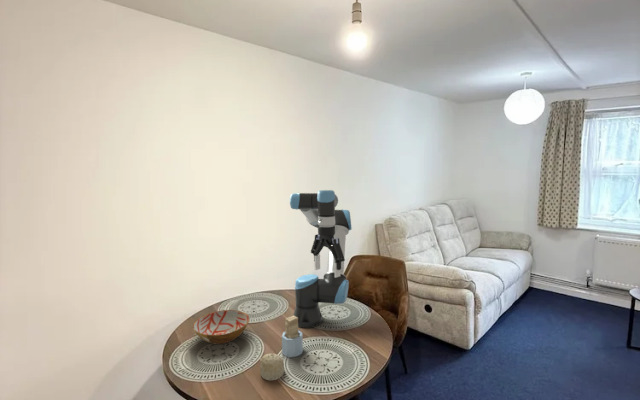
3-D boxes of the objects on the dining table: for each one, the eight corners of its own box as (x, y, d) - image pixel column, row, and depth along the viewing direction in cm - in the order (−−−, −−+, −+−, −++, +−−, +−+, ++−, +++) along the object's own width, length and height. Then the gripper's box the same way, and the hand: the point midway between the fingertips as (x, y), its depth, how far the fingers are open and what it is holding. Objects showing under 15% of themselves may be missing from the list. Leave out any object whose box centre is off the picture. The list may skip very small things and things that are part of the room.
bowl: (260, 330, 159) (260, 315, 158) (225, 358, 136) (224, 340, 135) (220, 321, 169) (219, 306, 168) (181, 345, 147) (180, 328, 146)
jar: (278, 350, 141) (277, 334, 140) (295, 343, 147) (294, 327, 146) (290, 359, 134) (289, 342, 134) (307, 351, 140) (306, 335, 139)
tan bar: (286, 350, 140) (285, 318, 139) (294, 346, 143) (293, 315, 142) (290, 352, 138) (289, 321, 136) (298, 349, 141) (298, 317, 139)
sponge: (269, 375, 131) (254, 356, 130) (289, 361, 131) (274, 342, 130) (267, 391, 122) (251, 371, 120) (288, 375, 122) (272, 355, 121)
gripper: (302, 223, 150) (303, 268, 152) (339, 230, 131) (340, 282, 133) (315, 221, 155) (316, 265, 157) (352, 228, 136) (353, 278, 138)
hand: (327, 273), depth 145 cm, fingers open, 13 cm apart
